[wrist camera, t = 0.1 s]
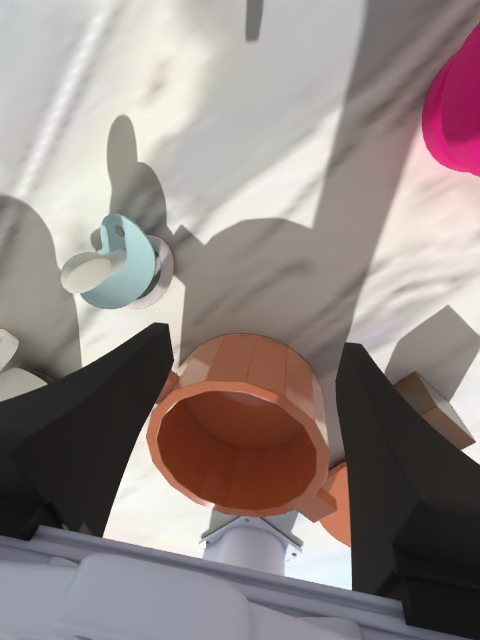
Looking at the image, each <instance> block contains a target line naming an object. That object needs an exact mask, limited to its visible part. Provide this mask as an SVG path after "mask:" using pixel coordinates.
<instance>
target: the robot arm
mask: <svg viewBox="0 0 480 640" xmlns="http://www.w3.org/2000/svg"><path fill="white" fill-rule="evenodd" d="M173 362H174V358H173V351H172V345H171V338H170V332H169V325H168V324H165V323H156V322H154V323H153V324H151V325H150V326H148V327H147V328H145V329H144V330H142V331H141V332H139V333H138V334H136V335H135V336H133V337H132V338H130V339H129V340H127V341H126V342H124V343H123V344H121V345H120V346H118V347H117V348H115V349H114V350H112V351H111V352H109V353H107V354H106V355H104V356H102V357H101V358H99V359H97V360H96V361H94V362H92V363H91V364H89V365H87V366H85V367H83V368H81V369H79V370H77V371H75V372H73V373H71V374H69V375H67V376H65V377H63V378H61V379H58V380H56V381H54V382H51V383H49V384H47V385H44V386H42V387H40V388H37V389H35V390H32V391H29V392H27V393H24V394H21V395H18V396H16V397H13V398H10V399H7V400H4V401H1V402H0V640H480V465H479V464H478V463H476V462H475V461H474V460H472V459H471V458H470V457H468V456H467V455H466V454H465V453H463V452H462V451H461V450H459V449H458V448H457V447H456V446H455V445H453V444H452V443H451V442H450V441H449V440H447V439H446V438H445V437H444V436H443V435H441V434H440V433H439V432H438V431H437V430H436V429H434V428H433V427H432V426H431V425H430V424H429V423H428V422H427V421H426V420H425V419H424V418H423V417H422V416H421V415H420V414H419V413H418V412H416V411H415V410H414V409H413V407H412V406H411V405H410V404H409V403H408V402H407V401H406V400H405V399H404V398H403V397H402V396H401V395H400V393H399V392H398V391H397V390H396V389H395V388H394V386H393V385H392V384H391V383H390V381H389V380H388V379H387V378H386V376H385V375H384V374H383V373H382V371H381V370H380V369H379V367H378V366H377V365H376V363H375V362H374V361H373V359H372V358H371V356H370V355H369V354H368V352H367V351H366V350H365V348H364V347H363V346H362V344H357V343H348V342H345V344H344V348H343V352H342V356H341V360H340V364H339V368H338V372H337V376H336V380H335V382H336V404H337V410H338V416H339V422H340V428H341V434H342V440H343V445H344V451H345V457H346V465H347V477H348V492H349V510H350V531H351V559H352V591H351V590H347V589H342V588H337V587H332V586H328V585H323V584H318V583H314V582H309V581H304V580H299V579H295V578H290V577H285V576H284V567H285V562H286V561H288V560H291V559H293V558H295V557H297V556H299V555H301V554H302V549H301V548H300V547H299V546H297V545H296V544H295V543H293V542H292V541H290V540H289V539H288V538H286V537H285V536H284V535H282V534H281V533H280V532H278V531H277V530H275V529H274V528H273V527H271V526H270V525H269V524H267V523H266V522H264V521H263V520H262V519H260V518H255V517H246V516H241V517H239V518H238V519H236V520H234V521H232V522H231V523H229V524H227V525H226V526H224V527H222V528H221V529H219V530H217V531H216V532H214V533H212V534H211V535H209V536H207V537H205V538H204V539H202V540H201V541H200V543H199V545H200V547H202V548H203V549H205V550H204V554H203V558H202V559H200V558H195V557H190V556H186V555H181V554H176V553H171V552H167V551H162V550H157V549H152V548H148V547H143V546H138V545H133V544H129V543H124V542H119V541H115V540H110V539H105V538H102V537H103V534H104V530H105V527H106V524H107V521H108V518H109V515H110V511H111V508H112V505H113V502H114V499H115V497H116V494H117V491H118V488H119V485H120V482H121V479H122V477H123V474H124V471H125V469H126V466H127V463H128V461H129V458H130V455H131V453H132V450H133V448H134V445H135V443H136V440H137V438H138V436H139V433H140V431H141V429H142V427H143V425H144V423H145V421H146V419H147V417H148V416H149V414H150V412H151V410H152V408H153V406H154V404H155V402H156V401H157V399H158V397H159V395H160V393H161V391H162V389H163V387H164V385H165V383H166V381H167V379H168V376H169V373H170V371H171V368H172V365H173Z"/></svg>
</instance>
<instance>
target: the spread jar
mask: <svg viewBox="0 0 480 640" xmlns="http://www.w3.org/2000/svg"><path fill="white" fill-rule="evenodd" d="M18 345H19V341H18V339H16V338H15V337H14V336H13V335H11V334H10V333H9V332H7V331H6V330H5V329H1V330H0V370H1V369H2V368H3V367H4V366H5V365H6V364H7V363H8V362H9V360H10V359H11V358H12V357H13V355H14V353H15V352H16V350H17V348H18ZM54 381H55V380H54V379H52V378H51V377H49V376H47V375H45V374H43V373H41V372H38V371H36V370H33V369H30V368H26V367H15V368H12V369H10V370H8V371H6V372H4V373H2V374H1V375H0V402H1V401H4V400H7V399H10V398H13V397H16V396H18V395H21V394H24V393H27V392H29V391H32V390H35V389H37V388H40V387H42V386H44V385H47V384H49V383H51V382H54Z"/></svg>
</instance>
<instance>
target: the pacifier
mask: <svg viewBox="0 0 480 640" xmlns="http://www.w3.org/2000/svg"><path fill="white" fill-rule="evenodd" d="M116 225H119V226H121V227H122V228H123V230H124V231H125V236H121V235H119V234H118V232H117V231H116ZM101 241H102V245H103V246H102V249H101V250H99V251H96V252H94V253H93V252H87V253H81V254H78V255H76V256H74V257H72V258H70V259H69V260H68V261H67V262H66V263H65V265H64V266H63V268H62V270H61V276H60V278H61V283H62V285H63V287H64V288H65V289H66V290H67V291H68V292H70V293H73V294H79V293H80V294H81V296H82V298H83V299H84V300H85V301H86V302H88V303H89V304H91V305H93V306H95V307H99V308H103V309H117V308H121V307H124V306H127V307H129V308H134V309H140V308H146V307H148V306H150V305H152V304H154V303H155V302H156V301H158V300H159V299H160V298H161V297H162V295H163V294H164V293H165V292H166V290H167V288H168V286H169V285H170V282H171V279H172V276H173V269H174V261H173V255H172V252H171V250H170V248H169V246H168V245H167V244H166V243H165V242H164V241H163V240H162V239H160V238H158V237H156V236H150V235H146V234H145V233H144V231H143V230H142V229H141V228H140V227H139V226H138V225H137V224H136V223H135V222H134V221H132V220H131V219H129V218H128V217H126V216H124V215H121V214H110V215H108V216H106V217H105V218H104V219H103V221H102V224H101ZM154 250H155V251H156V252H157V253H158V255H159V257H160V260H161V274H160V277H159V280H158V282H157V284H156V286H155V287H154V289H153V290H152V291H151V292H150V293H149V294H147V295H145V296H142V297H140V296H141V295H142V294H143V292H144V291H145V290H146V289H147V287H148V286H149V284H150V283H151V281H152V279H153V276H154V273H155V269H156V255H155V251H154Z"/></svg>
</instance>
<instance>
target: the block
mask: <svg viewBox="0 0 480 640" xmlns="http://www.w3.org/2000/svg"><path fill="white" fill-rule="evenodd" d="M394 388H395V389H396V390H397V391H398V392H399V393H400V395H401V396H402V397H403V398H404V399H405V400H406V401H407V402H408V403H409V404H410V405H411V406H412V407H413V409H414V410H415V411H416V412H418V413H419V414H420V415H421V416H422V417H423V418H424V419H425V420H426V421H427V422H428V423H429V424H430V425H431V426H432V427H433V428H434V429H436V430H437V431H438V432H439V433H440V434H441V435H443V436H444V437H445V438H446V439H447V440H449V441H450V442H451V443H452V444H453V445H455V446H456V447H457V448H458V449H459V450H462V449H464V448H466V447H468V446H470V445H472V444H474V443H476V441H475V440H474V438H473V437H472V435H471V434H470V432H469V431H468V429H467V428H466V426H465V425H464V423H463V422H462V420H461V419H460V417H459V416H458V415H457V413H456V412H455V410H454V409H453V407H452V406H451V404H450V403H449V402H448V401H447V400H446V399H445V398H444V397H443V396H442V395H441V394H440V393H438V392H437V391H436V390H435V389H434V388H433V387H432V386H431V385H430V384H429V383H428V382H427V381H426V380H425V379H423V378H422V377H421V376H420V375H419V374H418V373H417V372H414V373H412V374H411V375H409V376H408V377H406V378H405V379H403V380H402V381H400V382H399V383H397V384H396V385H394Z"/></svg>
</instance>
